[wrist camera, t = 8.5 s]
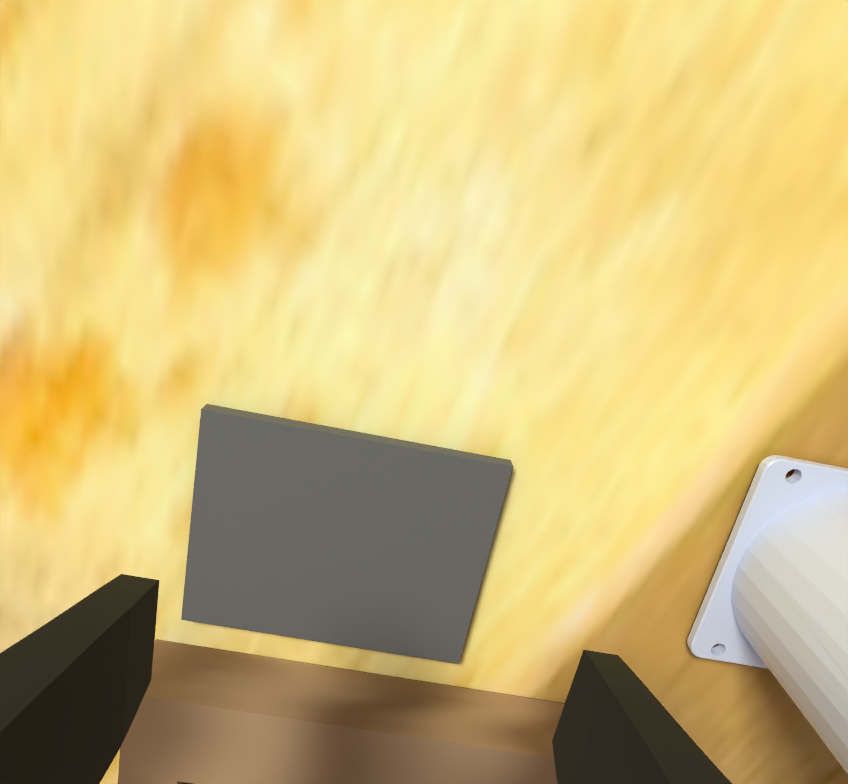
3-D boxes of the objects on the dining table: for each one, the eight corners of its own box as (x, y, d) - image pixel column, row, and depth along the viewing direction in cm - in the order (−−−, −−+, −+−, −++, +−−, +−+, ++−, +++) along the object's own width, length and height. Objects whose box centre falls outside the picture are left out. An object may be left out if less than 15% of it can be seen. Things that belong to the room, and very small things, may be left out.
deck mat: (510, 460, 20) (512, 466, 19) (458, 654, 22) (458, 663, 22) (206, 404, 19) (201, 409, 18) (186, 610, 21) (181, 619, 21)
